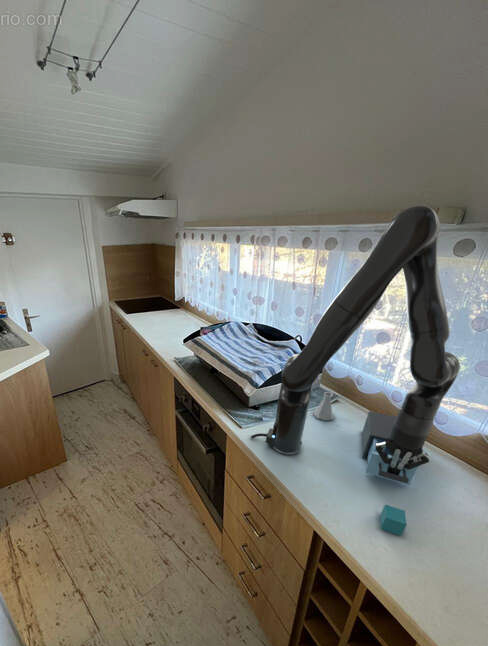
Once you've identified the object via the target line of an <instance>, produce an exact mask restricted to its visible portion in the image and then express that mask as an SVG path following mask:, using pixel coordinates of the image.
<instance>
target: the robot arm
mask: <svg viewBox="0 0 488 646" xmlns="http://www.w3.org/2000/svg"><path fill="white" fill-rule="evenodd" d="M440 225H441V223H440V219H439V216H438V213H437V212H436V211H435V210H434V209H433V208H432V207H430V206H428V205H424V204H416V205H411V206H409V207H407V208H405V209H402V210H401V211H400V212H398V213H397V214H396V215H394V217H392V219H391V221H390V222H389V223H388V225H387V226H386V228H385V230H384V231H383V232H382V233H381V236H380V238H379V239H378V241H377V242H376V244H375V246H374V248H372V251H371V252H370V254H369V255H368V256H367V258H366V260H365V261H364V262H363V263H362V265H361V266H360V268H359V269H358V270H357V271H356V272H355V273H354V275H353V276H352V277H351V278H350V279H349V281H348V282H347V283H346V284H345V285H344V286H343V287H342V289H341V290H340V291H339V293H337V295H336V297H334V299H333V300H332V302H331V303H330V304H329V306H328V307H327V308H326V310H325V311H324V313H323V315H322V316H321V317H320V319H319V321H318V322H317V324H316V326H315V328H314V330H313V331H312V334H311V336H310V338H309V340H308V341H307V343H306V345H305V346H304V348H303V349H302V350H301V351H300V352H299V353H295V354H293V355H291V356H289V357H288V358H287V359H286V360H285V362H284V365H283V368H282V371H281V384H280V389H279V393H278V401H277V407H276V413H275V420H274V421H275V422H274V423H273V427H272V428H269V429H268V432H267V433H255V434H252V435H251V437H250V438H252V439H255V438H257V437H265V443H266V444H269V445H270V448H271V449H274V450H275V451H276V452H277V453H279V454H281V455H286V456H287V455H288V456H293V455H296V454H298V453H299V452H300V451H301V446H302V444H303V441H302V439H303V435H304V431H305V425H306V419H307V415H308V412H309V411H308V410H309V405H310V401H311V395H312V388H313V385H314V382H315V381H316V380H317V378H318V377H319V375H320V374H321V372H322V371H323V370H324V368H325V366H326V365H327V364H328V362H330V360H331V359H332V357H334V355H335V354H337V353H338V352H339V350H340V349H341V348H342V347H343V346H344V345H345V344H346V343H347V342H348V341H349V339H350V338H351V337H352V336H353V335H354V334H355V333H356V332H357V330H359V328H360V327H361V326H362V325H363V324H364V322H365V321H366V320H367V319H368V318H369V317H370V315H371V314H372V312H373V311H374V310H375V308H376V306H377V305H378V303H379V302H380V301H381V299H382V297H383V295H384V294H385V292H386V290H387V288H388V287H389V285H390V284H391V283H392V282H393V280H394V278H395V277H396V276H397V275H398V274H399V273H400V272H401V271H402V273H403V277H404V284H405V285H404V287H405V304H406V305H405V306H406V317H407V322H408V323H407V324H408V329H409V335H410V339H411V344H410V345H411V346H410V354H409V355H410V357H409V358H410V359H409V369H410V373H411V376H412V378H413V380H414V381H415V384H414V385H413V386H412V387H410V389H409V390H408V391H407V393H406V394H405V397H404V399H403V402H402V405H401V408H400V409H399V411H398V413H397V415H396V416H395V417H396V420H395V422H394V425H393V428H392V430H391V433H390V436H389V437H388V438H387V439H386V440H385V442H382V443H379V442H376V443H375V449H376V451H377V452H378V454H379V455H380V457H381V459H382V460H383V462H384V463H385V464H389V465H388V467H387V472H389V473H392V474H396V475H399V474H400V472H401V469H403V468H406V469H408V470H410V469H412V468H415V467H417V466H418V467H421V466H423V465H425V464H427V463H430V457H429V454H428V453H426V452H424V450H423V447H424V445H425V443H426V441H427V439H428V436H429V434H430V432H431V431H432V427H433V425H434V421H435V417H436V415H437V414H438V411H439V409H440V406H441V405H442V404H441V403H442V401H443V399H444V397H445V396H446V394H447V393H448V392H449V391H450V389H451V387H452V385H454V382H455V381H456V379H457V377H458V375H459V373H460V368H461V364H460V360H459V358H458V357H457V355H455V354H453V353H451V352H448V351H446V342H448V340H449V338H450V325H449V324H450V323H449V318H448V317H449V316H448V312H447V307H446V302H445V297H444V293H443V289H442V284H441V280H440V276H439V265H438V239H439V234H440V229H441V226H440ZM385 447H387V449H388V451H389V452H390V454H391V457H390V458H389V457H388V455H387V454H386V452H385ZM413 457H414V458H413Z"/></svg>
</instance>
